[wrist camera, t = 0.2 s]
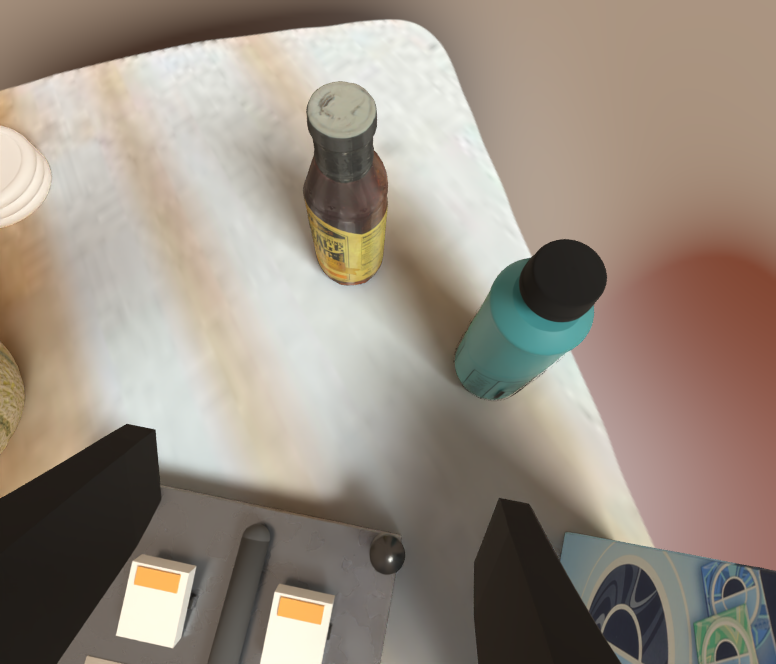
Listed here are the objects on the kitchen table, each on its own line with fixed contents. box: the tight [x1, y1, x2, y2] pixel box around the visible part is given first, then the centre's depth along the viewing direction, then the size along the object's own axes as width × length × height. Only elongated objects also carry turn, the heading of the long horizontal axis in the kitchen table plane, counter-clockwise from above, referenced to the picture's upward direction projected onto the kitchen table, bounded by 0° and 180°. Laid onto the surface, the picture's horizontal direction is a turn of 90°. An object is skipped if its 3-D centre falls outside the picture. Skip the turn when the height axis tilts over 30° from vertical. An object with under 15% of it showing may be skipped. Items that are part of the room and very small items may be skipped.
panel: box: [57, 485, 405, 664], centre depth 34 cm, size 14×22×6 cm, turn 79°
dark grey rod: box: [207, 524, 270, 664], centre depth 33 cm, size 14×2×2 cm, turn 169°
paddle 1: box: [116, 554, 196, 648], centre depth 33 cm, size 5×4×1 cm
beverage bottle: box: [453, 239, 607, 401], centre depth 33 cm, size 6×7×20 cm
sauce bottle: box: [303, 81, 388, 285], centre depth 36 cm, size 6×6×20 cm
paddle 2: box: [260, 584, 335, 664], centre depth 32 cm, size 5×4×1 cm
